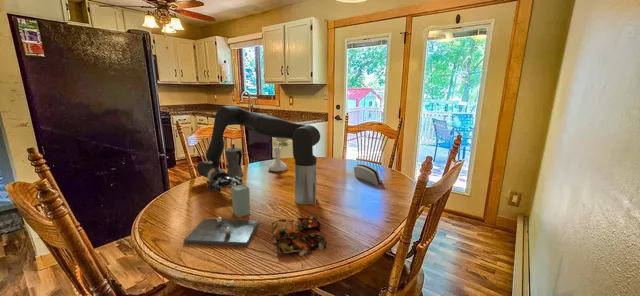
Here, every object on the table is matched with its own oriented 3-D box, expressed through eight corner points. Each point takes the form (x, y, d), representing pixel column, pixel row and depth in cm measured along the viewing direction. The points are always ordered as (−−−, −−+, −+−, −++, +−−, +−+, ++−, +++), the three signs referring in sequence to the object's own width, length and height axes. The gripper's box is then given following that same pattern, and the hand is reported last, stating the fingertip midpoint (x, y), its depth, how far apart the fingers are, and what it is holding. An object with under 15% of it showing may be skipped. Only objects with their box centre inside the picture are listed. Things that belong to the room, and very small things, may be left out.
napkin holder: (383, 183, 141) (380, 167, 137) (377, 187, 139) (374, 171, 135) (360, 174, 154) (357, 160, 150) (355, 178, 152) (351, 164, 148)
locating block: (245, 209, 108) (243, 184, 106) (250, 214, 104) (249, 187, 102) (233, 212, 105) (231, 186, 103) (237, 217, 101) (236, 190, 99)
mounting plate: (258, 224, 96) (258, 214, 96) (246, 246, 83) (246, 235, 82) (204, 222, 97) (203, 212, 96) (184, 244, 84) (182, 232, 83)
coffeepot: (221, 174, 150) (219, 143, 146) (237, 171, 157) (235, 141, 153) (234, 181, 140) (232, 148, 136) (250, 177, 146) (248, 145, 142)
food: (332, 254, 81) (332, 243, 80) (270, 262, 77) (269, 251, 76) (317, 219, 102) (317, 211, 101) (268, 225, 98) (267, 216, 97)
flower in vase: (265, 172, 156) (264, 130, 150) (272, 166, 167) (271, 127, 161) (287, 173, 154) (286, 131, 148) (292, 168, 164) (292, 128, 159)
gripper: (201, 172, 119) (212, 182, 107) (232, 167, 128) (246, 176, 115) (202, 187, 121) (213, 200, 108) (233, 181, 129) (246, 192, 117)
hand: (230, 187), depth 112 cm, fingers open, 8 cm apart
